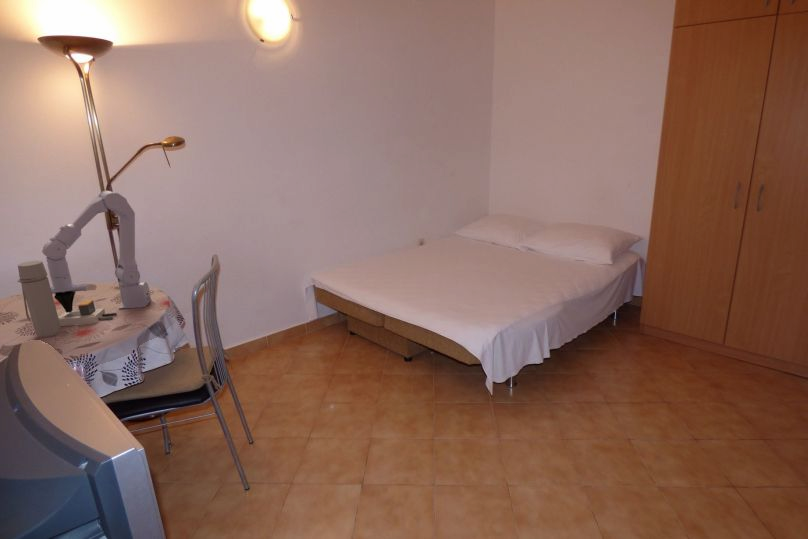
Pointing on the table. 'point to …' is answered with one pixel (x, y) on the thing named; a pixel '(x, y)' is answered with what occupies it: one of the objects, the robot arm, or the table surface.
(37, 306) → the water bottle
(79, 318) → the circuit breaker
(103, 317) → the cord
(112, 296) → the table surface
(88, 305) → the knob
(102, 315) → the cord
